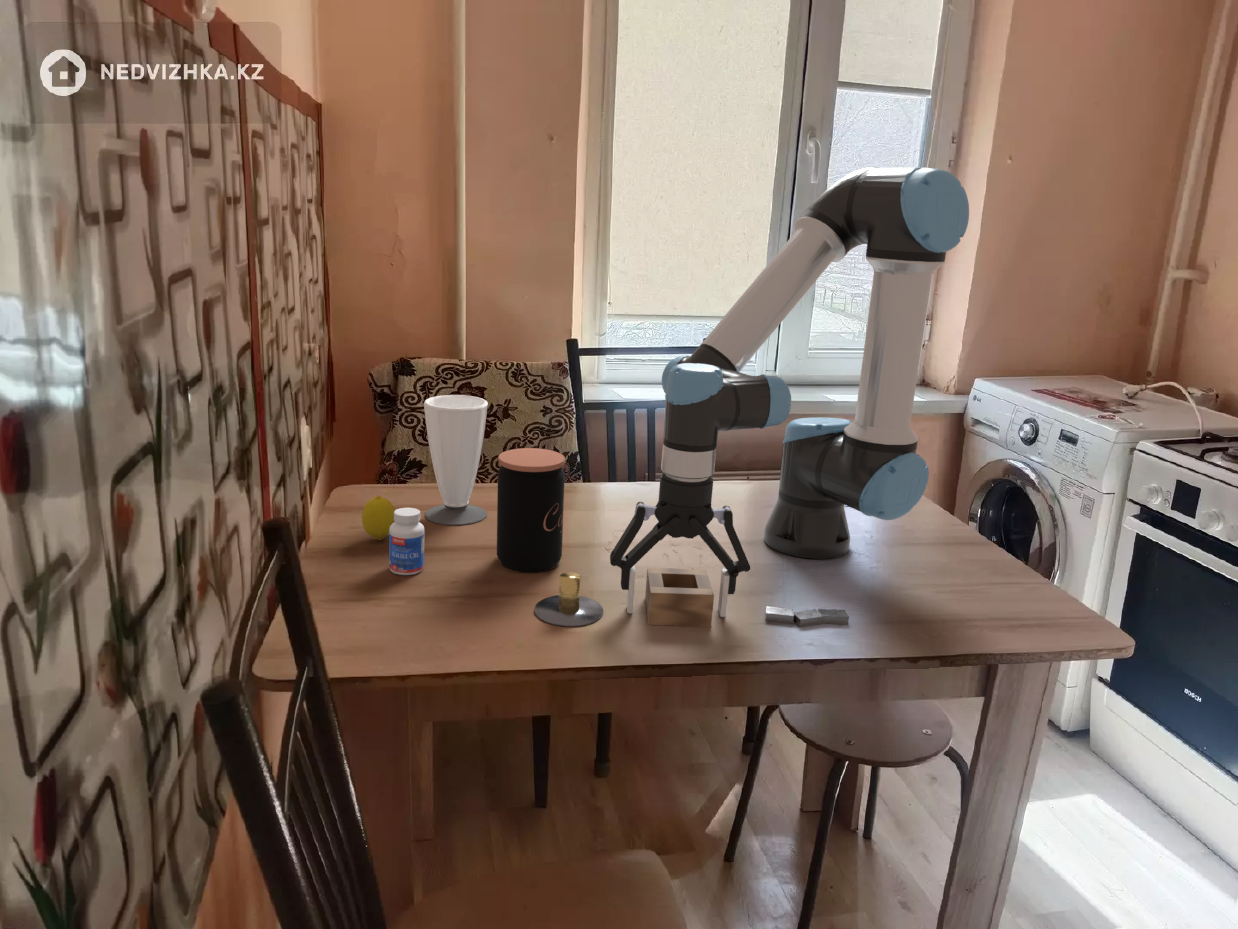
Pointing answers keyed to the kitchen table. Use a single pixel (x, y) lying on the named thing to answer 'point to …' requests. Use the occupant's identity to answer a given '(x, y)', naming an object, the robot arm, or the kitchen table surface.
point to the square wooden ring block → (679, 597)
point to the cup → (455, 455)
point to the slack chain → (806, 616)
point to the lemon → (378, 517)
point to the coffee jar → (530, 509)
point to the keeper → (569, 605)
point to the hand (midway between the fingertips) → (675, 611)
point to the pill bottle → (406, 542)
